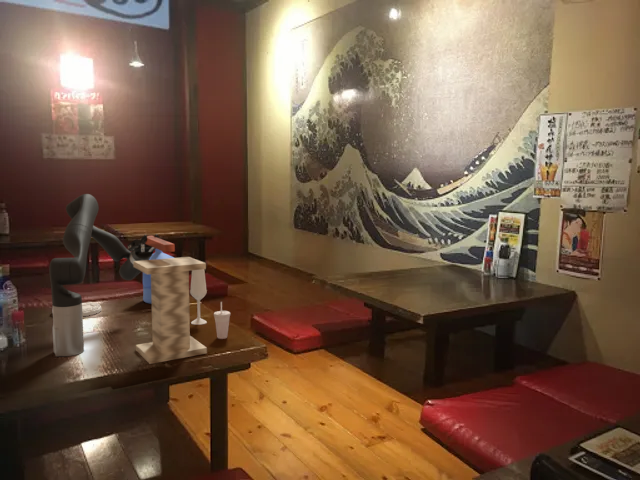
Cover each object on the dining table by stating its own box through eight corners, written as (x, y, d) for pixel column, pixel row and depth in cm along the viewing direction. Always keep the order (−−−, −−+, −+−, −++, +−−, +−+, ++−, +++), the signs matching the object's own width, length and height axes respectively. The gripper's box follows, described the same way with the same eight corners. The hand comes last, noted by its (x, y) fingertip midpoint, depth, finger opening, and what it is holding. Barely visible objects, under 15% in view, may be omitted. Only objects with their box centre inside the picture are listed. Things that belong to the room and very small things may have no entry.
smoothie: (210, 338, 202) (210, 302, 200) (219, 333, 208) (219, 299, 206) (225, 340, 200) (225, 304, 198) (233, 335, 206) (233, 300, 204)
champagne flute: (210, 321, 225) (209, 265, 222) (200, 325, 219) (199, 268, 216) (197, 319, 228) (196, 264, 225) (187, 323, 222) (186, 266, 219)
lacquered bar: (164, 252, 181) (164, 244, 181) (142, 242, 202) (142, 236, 202) (174, 251, 183) (174, 244, 182) (152, 242, 204) (151, 235, 204)
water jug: (146, 297, 267) (145, 241, 264) (178, 296, 269) (177, 241, 265) (139, 304, 252) (138, 246, 248) (173, 304, 254) (172, 246, 250)
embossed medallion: (103, 306, 249) (103, 300, 249) (99, 317, 230) (99, 310, 230) (56, 309, 243) (56, 302, 243) (48, 320, 224) (48, 313, 224)
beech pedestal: (149, 364, 175) (146, 268, 171) (136, 350, 188) (133, 261, 184) (206, 353, 186) (205, 263, 182) (190, 341, 199) (189, 256, 195)
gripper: (121, 246, 209) (130, 228, 195) (157, 244, 217) (168, 226, 203) (124, 264, 207) (134, 247, 193) (160, 261, 214) (172, 244, 201)
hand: (151, 236), depth 198 cm, fingers closed on lacquered bar, 3 cm apart
